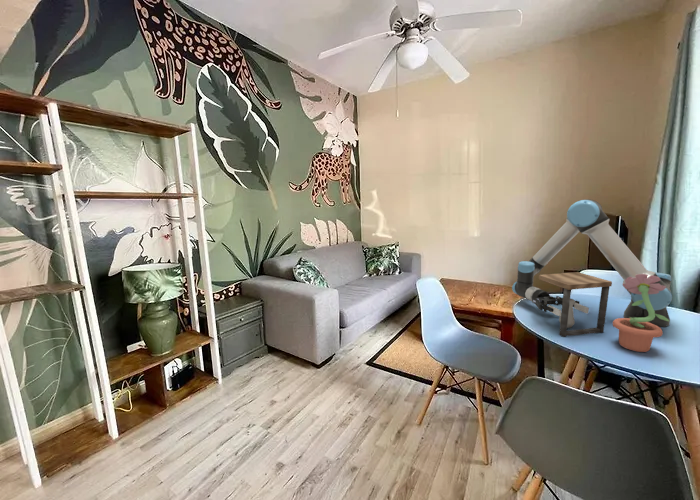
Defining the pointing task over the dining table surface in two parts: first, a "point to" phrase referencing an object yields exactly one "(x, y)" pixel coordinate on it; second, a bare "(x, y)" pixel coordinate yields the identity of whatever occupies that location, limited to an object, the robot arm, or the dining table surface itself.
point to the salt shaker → (570, 314)
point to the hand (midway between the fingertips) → (574, 312)
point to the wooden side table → (569, 283)
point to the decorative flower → (639, 330)
